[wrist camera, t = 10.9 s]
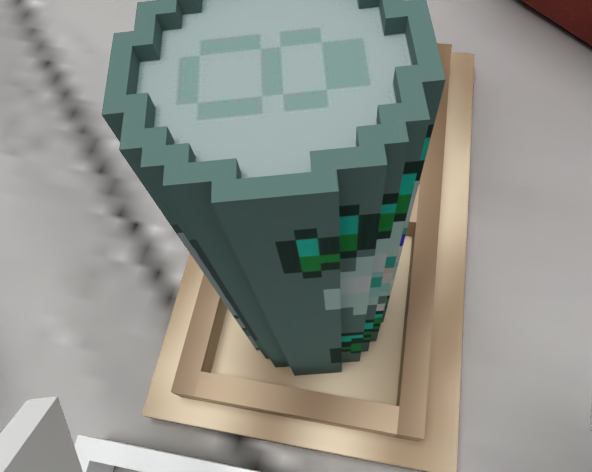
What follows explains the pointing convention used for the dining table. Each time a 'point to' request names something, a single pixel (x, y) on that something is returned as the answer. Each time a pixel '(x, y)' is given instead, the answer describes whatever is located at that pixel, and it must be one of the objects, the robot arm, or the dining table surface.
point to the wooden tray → (373, 363)
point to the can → (283, 155)
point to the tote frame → (141, 458)
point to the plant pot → (568, 15)
